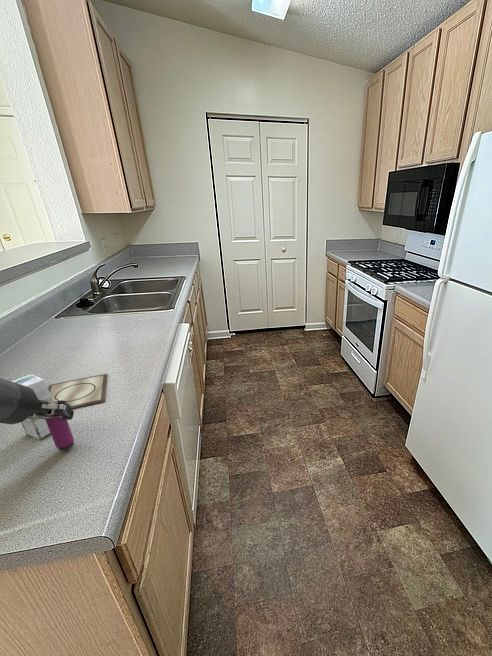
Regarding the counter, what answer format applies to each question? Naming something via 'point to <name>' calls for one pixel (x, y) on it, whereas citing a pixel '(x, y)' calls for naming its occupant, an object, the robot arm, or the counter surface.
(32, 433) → the syrup box
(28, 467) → the counter surface
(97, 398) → the board
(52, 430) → the cylinder
